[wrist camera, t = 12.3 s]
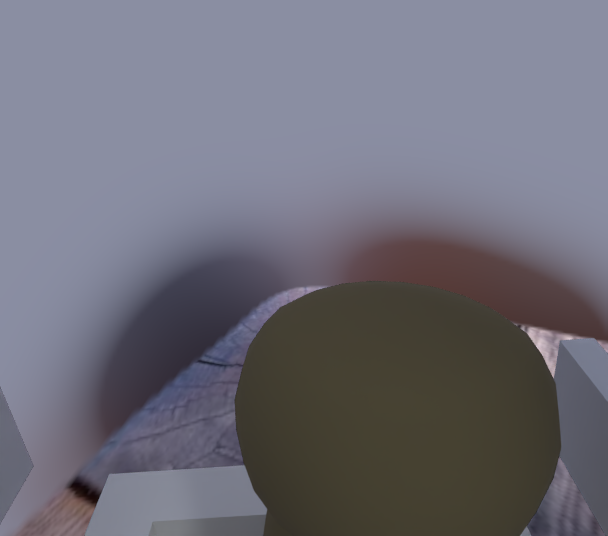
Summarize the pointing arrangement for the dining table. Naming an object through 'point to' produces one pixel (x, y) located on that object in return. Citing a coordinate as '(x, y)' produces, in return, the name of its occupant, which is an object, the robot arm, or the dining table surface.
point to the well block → (181, 504)
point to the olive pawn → (396, 415)
